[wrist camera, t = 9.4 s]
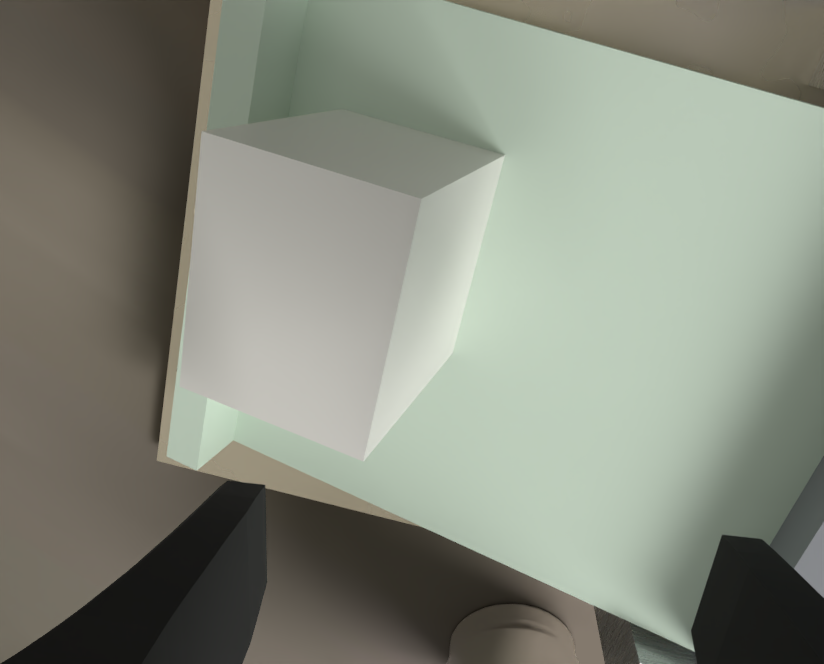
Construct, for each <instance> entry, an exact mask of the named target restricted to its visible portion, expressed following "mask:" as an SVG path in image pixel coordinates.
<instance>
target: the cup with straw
mask: <svg viewBox="0 0 824 664" xmlns="http://www.w3.org/2000/svg"><path fill="white" fill-rule="evenodd" d="M449 652H450V657H449V659H448V661H447V664H580V662H579V660H578V658H577V657H576V656H575V643H574V640H573V638H572V635H571V633H570V632H569V630H568V629H567V627H566V626H565V625H564V624H563V623H562V622H561V621H560V620H559V619H558V618H556V617H555V616H553V615H551V614H550V613H548V612H546V611H544V610H541V609H539V608H536V607H532V606H528V605H523V604H498V605H493V606H488V607H485V608H483V609H480V610H477V611H475V612H474V613H472V614H470V615H469V616H467V617H466V618H465V619H463V620H462V621H461V622H460V623H459V624H458V626H457V627H456V628H455V630H454V631H453V634H452V636H451V639H450V647H449Z"/></svg>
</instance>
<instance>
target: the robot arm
mask: <svg viewBox="0 0 824 664" xmlns="http://www.w3.org/2000/svg"><path fill="white" fill-rule="evenodd" d="M266 583H267V562H266V495H265V485H263V484H254V483H244V482H235V481H227V482H226V483H224V484H223V485H222V486H220V487H219V488H218V489H217V490H216V491H215V492H214V493H213V494H212V495H211V496H210V497H209V498H208V499H207V500H206V501H205V502H204V503H203V504H202V505H201V506H199V507H198V508H197V509H196V510H195V511H194V512H193V513H192V514H191V515H190V516H189V517H188V518H187V519H186V520H185V521H184V522H182V523H181V524H180V525H179V526H178V527H177V528H176V529H175V530H174V531H173V532H172V533H171V534H170V535H168V536H167V537H166V538H165V539H164V540H163V541H162V542H161V543H159V544H158V545H157V546H156V547H155V548H154V549H153V550H151V551H150V552H149V553H148V554H147V555H146V556H145V557H144V558H142V559H141V560H140V561H139V562H138V563H137V564H136V565H134V566H133V567H132V568H131V569H130V570H128V571H127V572H126V573H125V574H124V575H122V576H121V577H120V578H119V579H117V580H116V581H115V582H114V583H112V584H111V585H110V586H109V587H107V588H106V589H105V590H104V591H102V592H101V593H100V594H99V595H97V596H96V597H95V598H94V599H92V600H91V601H90V602H89V603H87V604H86V605H85V606H83V607H82V608H81V609H79V610H78V611H77V612H75V613H74V614H73V615H71V616H70V617H69V618H67V619H66V620H65V621H63V622H62V623H60V624H59V625H58V626H56V627H55V628H53V629H52V630H51V631H49V632H48V633H46V634H45V635H43V636H42V637H41V638H39V639H38V640H36V641H35V642H33V643H32V644H30V645H29V646H27V647H26V648H24V649H23V650H21V651H20V652H18V653H17V654H15V655H14V656H12V657H11V658H9V659H7V660H6V661H4V662H2V663H1V664H242V663H243V660H244V658H245V655H246V653H247V650H248V648H249V645H250V642H251V639H252V635H253V632H254V628H255V625H256V621H257V617H258V614H259V610H260V606H261V602H262V599H263V595H264V591H265V587H266ZM691 634H692V639H693V645H694V650H695V655H696V660H697V664H824V598H823V597H822V596H821V595H820V594H819V593H818V592H817V591H816V590H815V589H814V588H813V587H812V586H811V585H810V584H809V583H808V582H807V581H806V580H805V579H804V578H803V577H802V576H801V575H800V574H799V573H798V572H797V571H796V570H795V569H794V568H792V567H791V566H790V565H789V564H788V563H787V562H786V561H785V560H784V559H783V558H782V557H781V556H780V555H779V554H778V553H777V552H776V551H775V550H774V549H773V548H771V547H770V546H769V545H768V544H767V543H766V542H765V541H764V540H762V539H758V538H748V537H739V536H730V535H722V536H721V539H720V542H719V546H718V549H717V552H716V555H715V558H714V561H713V564H712V567H711V570H710V573H709V576H708V580H707V583H706V586H705V589H704V592H703V595H702V598H701V601H700V604H699V607H698V610H697V613H696V617H695V620H694V623H693V626H692V629H691Z"/></svg>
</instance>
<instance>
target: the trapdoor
mask: <svg viewBox="0 0 824 664" xmlns="http://www.w3.org/2000/svg"><path fill="white" fill-rule="evenodd" d="M338 109H345V110H348V111H352V112H355V113H359V114H362V115H366V116H369V117H373V118H376V119H380V120H383V121H387V122H390V123H394V124H397V125H401V126H405V127H408V128H412V129H415V130H419V131H422V132H426V133H429V134H433V135H436V136H440V137H443V138H447V139H450V140H454V141H457V142H461V143H464V144H468V145H471V146H475V147H478V148H482V149H485V150H489V151H492V152H496V153H499V154H503V155H505V157H504V160H503V164H502V168H501V172H500V176H499V179H498V183H497V187H496V191H495V195H494V198H493V202H492V206H491V210H490V213H489V217H488V221H487V225H486V229H485V232H484V236H483V240H482V244H481V248H480V251H479V255H478V259H477V263H476V267H475V270H474V274H473V278H472V282H471V285H470V289H469V293H468V297H467V301H466V304H465V308H464V312H463V316H462V320H461V323H460V327H459V331H458V335H457V339H456V342H455V346H454V350H453V353H452V355H451V356H450V357H449V358H448V359H447V361H446V362H445V363H444V364H443V366H442V367H441V368H440V369H439V370H438V372H437V373H436V374H435V375H434V376H433V378H432V379H431V380H430V381H429V383H428V384H427V385H426V386H425V387H424V389H423V390H422V391H421V392H420V394H419V395H418V396H417V397H416V398H415V400H414V401H413V402H412V403H411V404H410V406H409V407H408V408H407V409H406V411H405V412H404V413H403V414H402V415H401V417H400V418H399V419H398V420H397V421H396V423H395V424H394V425H393V426H392V428H391V429H390V430H389V431H388V432H387V434H386V435H385V436H384V437H383V438H382V440H381V441H380V442H379V443H378V445H377V446H376V447H375V448H374V449H373V451H372V452H371V453H370V454H369V456H368V457H367V458H366V459H365V460H364V462H363V461H361V460H358V459H356V458H353V457H351V456H349V455H346V454H344V453H341V452H339V451H336V450H334V449H331V448H329V447H327V446H324V445H322V444H319V443H317V442H314V441H312V440H309V439H307V438H305V437H302V436H300V435H297V434H295V433H292V432H290V431H287V430H285V429H282V428H280V427H278V426H275V425H273V424H270V423H268V422H265V421H263V420H260V419H258V418H256V417H253V416H251V415H248V414H246V413H243V412H241V411H238V410H236V409H233V408H231V407H229V406H226V405H224V404H221V403H219V402H216V401H214V400H211V399H209V398H207V397H204V396H202V395H199V394H197V393H194V392H192V391H189V390H187V389H184V388H182V387H180V375H181V363H182V352H183V340H184V329H185V317H186V306H187V294H188V285H187V293H186V301H185V310H184V318H183V326H182V334H181V342H180V350H179V358H178V366H177V375H176V383H175V391H174V399H173V407H172V415H171V423H170V431H169V440H168V448H167V457H169V458H171V459H173V460H175V461H177V462H179V463H182V464H184V465H186V466H188V467H190V468H192V469H194V470H196V471H197V470H198V469H199V468H201V467H202V466H203V465H204V464H205V463H207V462H208V461H209V460H210V459H211V458H213V457H214V456H215V455H216V454H218V453H219V452H220V451H221V450H222V449H224V448H225V447H226V446H227V445H228V444H230V443H231V442H232V441H233V440H234V441H236V442H238V443H240V444H242V445H245V446H247V447H249V448H251V449H253V450H256V451H258V452H260V453H262V454H264V455H266V456H269V457H271V458H273V459H275V460H277V461H280V462H282V463H284V464H286V465H288V466H290V467H293V468H295V469H297V470H299V471H301V472H304V473H306V474H308V475H310V476H312V477H314V478H317V479H319V480H321V481H323V482H325V483H328V484H330V485H332V486H334V487H336V488H338V489H341V490H343V491H345V492H347V493H349V494H352V495H354V496H356V497H358V498H360V499H362V500H365V501H367V502H369V503H371V504H373V505H376V506H378V507H380V508H382V509H384V510H386V511H389V512H391V513H393V514H395V515H397V516H400V517H402V518H404V519H406V520H408V521H410V522H413V523H415V524H417V525H419V526H421V527H424V528H426V529H428V530H430V531H432V532H434V533H437V534H439V535H441V536H443V537H445V538H448V539H450V540H452V541H454V542H456V543H458V544H461V545H463V546H465V547H467V548H469V549H472V550H474V551H476V552H478V553H480V554H482V555H485V556H487V557H489V558H491V559H493V560H496V561H498V562H500V563H502V564H504V565H506V566H509V567H511V568H513V569H515V570H517V571H519V572H522V573H524V574H526V575H528V576H530V577H533V578H535V579H537V580H539V581H541V582H543V583H546V584H548V585H550V586H552V587H554V588H557V589H559V590H561V591H563V592H565V593H567V594H570V595H572V596H574V597H576V598H578V599H581V600H583V601H585V602H587V603H589V604H591V605H594V606H596V607H598V608H600V609H602V610H605V611H607V612H609V613H611V614H613V615H615V616H618V617H620V618H622V619H624V620H626V621H629V622H631V623H633V624H635V625H637V626H639V627H642V628H644V629H646V630H648V631H650V632H653V633H655V634H657V635H659V636H661V637H663V638H666V639H668V640H670V641H672V642H674V643H677V644H679V645H681V646H683V647H685V648H687V649H690V650H692V651H694V652H695V650H694V645H693V639H692V634H691V629H692V626H693V623H694V620H695V617H696V613H697V610H698V607H699V604H700V601H701V598H702V595H703V592H704V589H705V586H706V583H707V580H708V576H709V573H710V570H711V567H712V564H713V561H714V558H715V555H716V552H717V549H718V546H719V542H720V539H721V536H722V535H730V536H739V537H748V538H758V539H762V540H764V541H765V542H766V543H767V544H768V545H769V546H770V547H771V548H773V549H774V550H775V551H776V552H777V553H778V554H779V555H780V556H781V557H782V558H783V559H784V560H785V561H786V562H787V563H788V564H789V565H790V566H791V567H792V568H794V569H795V570H796V571H797V572H798V573H799V574H800V575H801V576H802V577H803V578H804V579H805V580H806V581H807V582H808V583H809V584H810V585H811V586H812V587H813V588H814V589H815V590H816V591H817V592H818V593H819V594H820V595H821V596H822V597H823V598H824V107H821V106H817V105H814V104H810V103H807V102H803V101H800V100H796V99H793V98H789V97H786V96H782V95H779V94H775V93H772V92H768V91H764V90H761V89H757V88H754V87H750V86H747V85H743V84H740V83H736V82H733V81H729V80H726V79H722V78H719V77H715V76H711V75H708V74H704V73H701V72H697V71H694V70H690V69H687V68H683V67H680V66H676V65H673V64H669V63H666V62H662V61H659V60H655V59H651V58H648V57H644V56H641V55H637V54H634V53H630V52H627V51H623V50H620V49H616V48H613V47H609V46H606V45H602V44H598V43H595V42H591V41H588V40H584V39H581V38H577V37H574V36H570V35H567V34H563V33H560V32H556V31H553V30H549V29H545V28H542V27H538V26H535V25H531V24H528V23H524V22H521V21H517V20H514V19H510V18H507V17H503V16H500V15H496V14H493V13H489V12H485V11H482V10H478V9H475V8H471V7H468V6H464V5H461V4H457V3H454V2H450V1H447V0H223V1H222V9H221V17H220V25H219V33H218V41H217V50H216V58H215V66H214V74H213V82H212V90H211V98H210V106H209V115H208V123H207V130H212V129H218V128H225V127H231V126H237V125H244V124H250V123H256V122H263V121H269V120H275V119H282V118H288V117H294V116H301V115H307V114H313V113H320V112H326V111H332V110H338ZM189 271H190V269H189ZM188 283H189V277H188Z"/></svg>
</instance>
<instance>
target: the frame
mask: <svg viewBox="0 0 824 664" xmlns="http://www.w3.org/2000/svg"><path fill="white" fill-rule="evenodd" d="M222 1H223V0H210V7H209V16H208V24H207V33H206V42H205V50H204V59H203V67H202V76H201V85H200V93H199V102H198V110H197V119H196V128H195V136H194V145H193V153H192V162H191V171H190V179H189V188H188V196H187V205H186V214H185V222H184V231H183V239H182V248H181V257H180V265H179V274H178V282H177V291H176V299H175V308H174V317H173V325H172V334H171V342H170V351H169V360H168V368H167V377H166V385H165V394H164V403H163V411H162V420H161V428H160V437H159V446H158V454H157V461H160V462H164V463H168V464H172V465H176V466H180V467H184V468H188V469H192V468H190V467H188V466H186V465H184V464H182V463H179V462H177V461H175V460H173V459H171V458H169V457H167V448H168V440H169V431H170V423H171V415H172V407H173V399H174V391H175V383H176V375H177V366H178V358H179V350H180V342H181V334H182V326H183V318H184V310H185V301H186V293H187V285H188V277H189V269H190V260H191V248H192V237H193V225H194V214H195V202H196V191H197V179H198V168H199V156H200V145H201V133H202V131H206V130H207V123H208V115H209V106H210V98H211V90H212V82H213V74H214V66H215V58H216V50H217V41H218V33H219V25H220V17H221V9H222ZM447 1H450V2H454V3H457V4H461V5H464V6H468V7H471V8H475V9H478V10H482V11H485V12H489V13H493V14H496V15H500V16H503V17H507V18H510V19H514V20H517V21H521V22H524V23H528V24H531V25H535V26H538V27H542V28H545V29H549V30H553V31H556V32H560V33H563V34H567V35H570V36H574V37H577V38H581V39H584V40H588V41H591V42H595V43H598V44H602V45H606V46H609V47H613V48H616V49H620V50H623V51H627V52H630V53H634V54H637V55H641V56H644V57H648V58H651V59H655V60H659V61H662V62H666V63H669V64H673V65H676V66H680V67H683V68H687V69H690V70H694V71H697V72H701V73H704V74H708V75H711V76H715V77H719V78H722V79H726V80H729V81H733V82H736V83H740V84H743V85H747V86H750V87H754V88H757V89H761V90H764V91H768V92H772V93H775V94H779V95H782V96H786V97H789V98H793V99H796V100H800V101H803V102H807V103H810V104H814V105H817V106H821V107H824V0H447ZM192 470H194V469H192ZM197 471H200V472H204V473H208V474H212V475H216V476H220V477H224V478H227V479H231V480H235V481H239V482H244V483H254V484H263V485H265V488H267V489H271V490H275V491H279V492H283V493H287V494H291V495H295V496H299V497H303V498H307V499H311V500H315V501H319V502H323V503H327V504H331V505H335V506H339V507H343V508H347V509H351V510H355V511H359V512H363V513H367V514H371V515H375V516H379V517H383V518H387V519H391V520H395V521H399V522H403V523H407V524H411V525H415V526H419V525H417V524H415V523H413V522H410V521H408V520H406V519H404V518H402V517H400V516H397V515H395V514H393V513H391V512H389V511H386V510H384V509H382V508H380V507H378V506H376V505H373V504H371V503H369V502H367V501H365V500H362V499H360V498H358V497H356V496H354V495H352V494H349V493H347V492H345V491H343V490H341V489H338V488H336V487H334V486H332V485H330V484H328V483H325V482H323V481H321V480H319V479H317V478H314V477H312V476H310V475H308V474H306V473H304V472H301V471H299V470H297V469H295V468H293V467H290V466H288V465H286V464H284V463H282V462H280V461H277V460H275V459H273V458H271V457H269V456H266V455H264V454H262V453H260V452H258V451H256V450H253V449H251V448H249V447H247V446H245V445H242V444H240V443H238V442H236V441H234V440H233V441H232V442H231V443H230V444H228V445H227V446H226V447H225V448H224V449H222V450H221V451H220V452H219V453H218V454H216V455H215V456H214V457H213V458H211V459H210V460H209V461H208V462H207V463H205V464H204V465H203V466H202V467H201V468H199V469H198V470H197ZM419 527H421V526H419ZM423 528H424V527H423ZM594 609H595V614H596V620H597V625H598V630H599V635H600V640H601V646H602V651H603V656H604V661H605V664H697V660H696V655H695V652H694V651H692V650H690V649H687V648H685V647H683V646H681V645H679V644H677V643H674V642H672V641H670V640H668V639H666V638H663V637H661V636H659V635H657V634H655V633H653V632H650V631H648V630H646V629H644V628H642V627H639V626H637V625H635V624H633V623H631V622H629V621H626V620H624V619H622V618H620V617H618V616H615V615H613V614H611V613H609V612H607V611H605V610H602V609H600V608H598V607H596V606H594Z"/></svg>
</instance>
